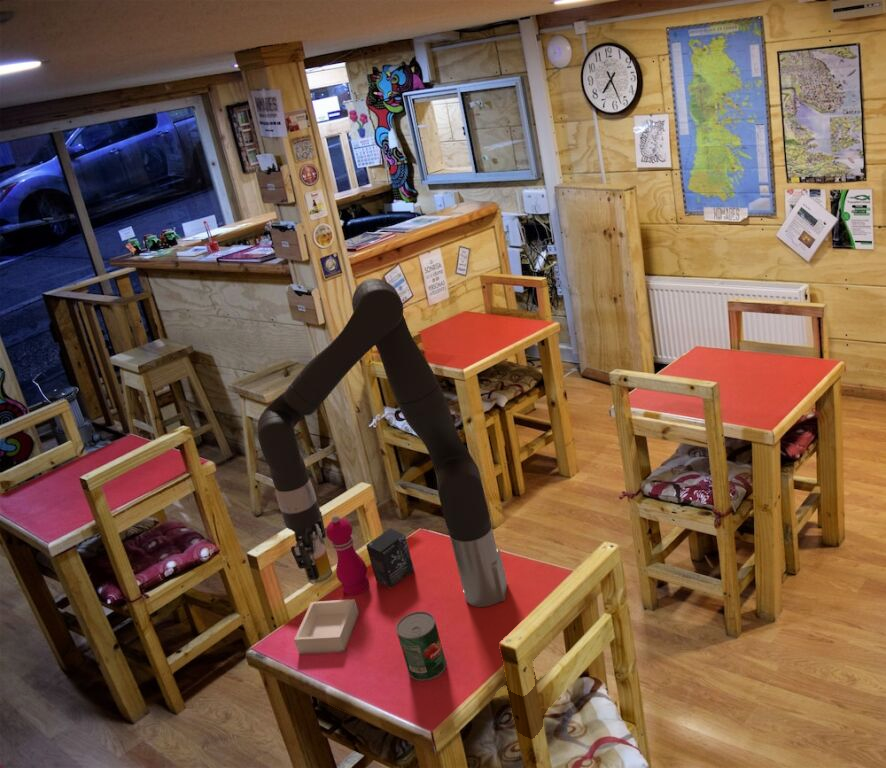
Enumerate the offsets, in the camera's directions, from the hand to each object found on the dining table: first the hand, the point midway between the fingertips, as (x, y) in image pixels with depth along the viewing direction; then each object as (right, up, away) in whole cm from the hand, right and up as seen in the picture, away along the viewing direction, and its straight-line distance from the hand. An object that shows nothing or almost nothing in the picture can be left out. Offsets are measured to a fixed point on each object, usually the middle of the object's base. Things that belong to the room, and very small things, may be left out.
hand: (318, 569), depth 186 cm
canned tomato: (+23, -18, -7) cm, 30 cm away
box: (+15, -7, +23) cm, 29 cm away
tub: (+1, -16, +9) cm, 18 cm away
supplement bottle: (0, -2, +1) cm, 2 cm away
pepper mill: (+6, -9, +23) cm, 25 cm away
